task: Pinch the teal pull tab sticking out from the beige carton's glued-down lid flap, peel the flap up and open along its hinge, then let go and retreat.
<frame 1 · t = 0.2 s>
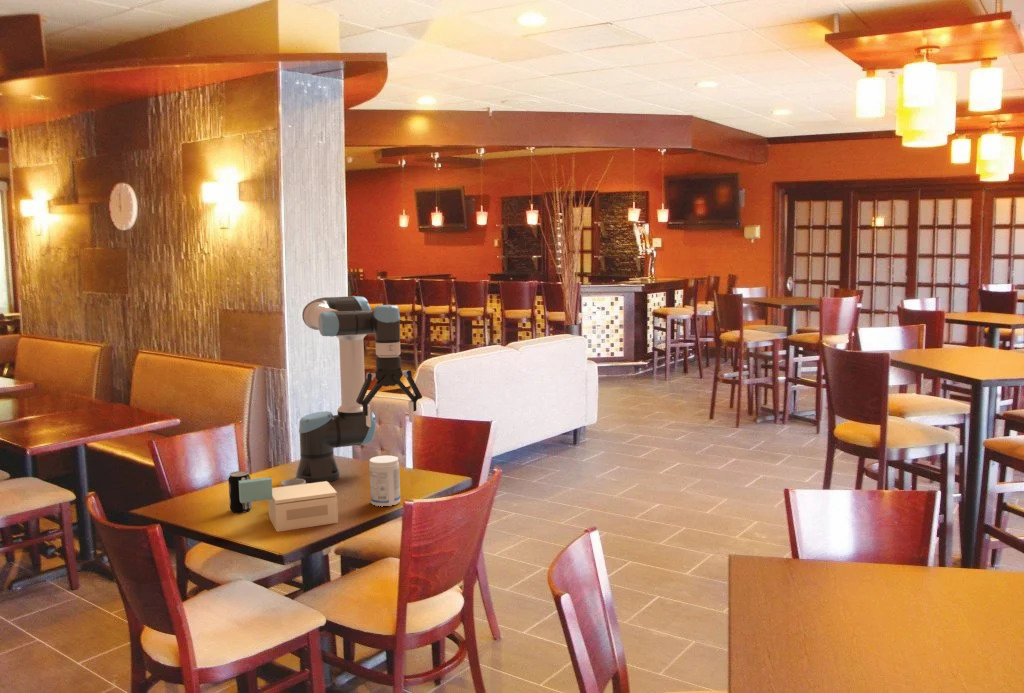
hand: (390, 424, 260), 28 cm above the table, fingers open, 13 cm apart
cup: (292, 509, 267), on the table
supplement tub: (385, 503, 272), on the table
carton: (303, 520, 256), on the table
beverage can: (241, 510, 267), on the table
flap: (287, 485, 253), point 11 cm above the table, hinge at 0.0°
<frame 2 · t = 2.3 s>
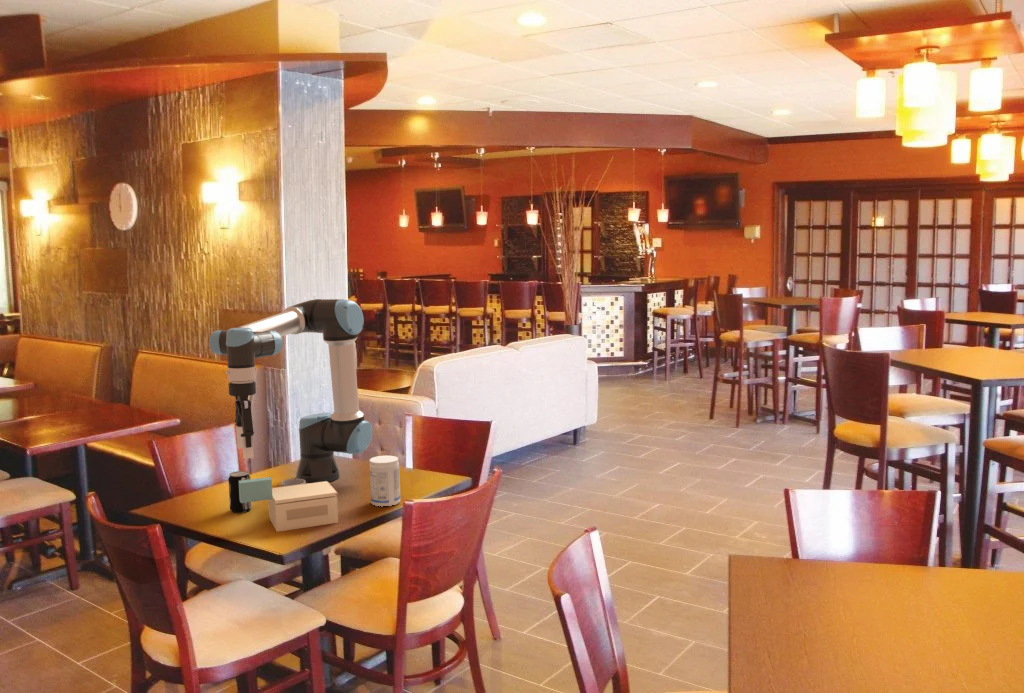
hand: (245, 453, 247), 23 cm above the table, fingers open, 13 cm apart
nothing on the table moved.
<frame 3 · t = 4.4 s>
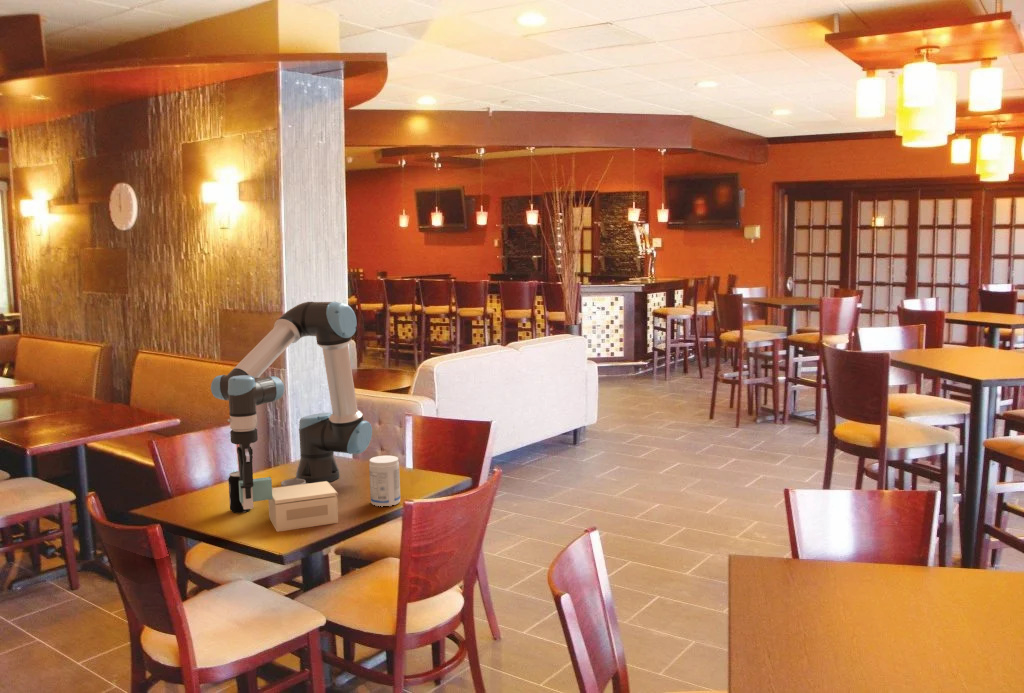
hand: (247, 506, 249), 7 cm above the table, fingers closed on flap, 3 cm apart
flap: (287, 485, 253), point 11 cm above the table, hinge at 0.0°, touching gripper
everything else where it was.
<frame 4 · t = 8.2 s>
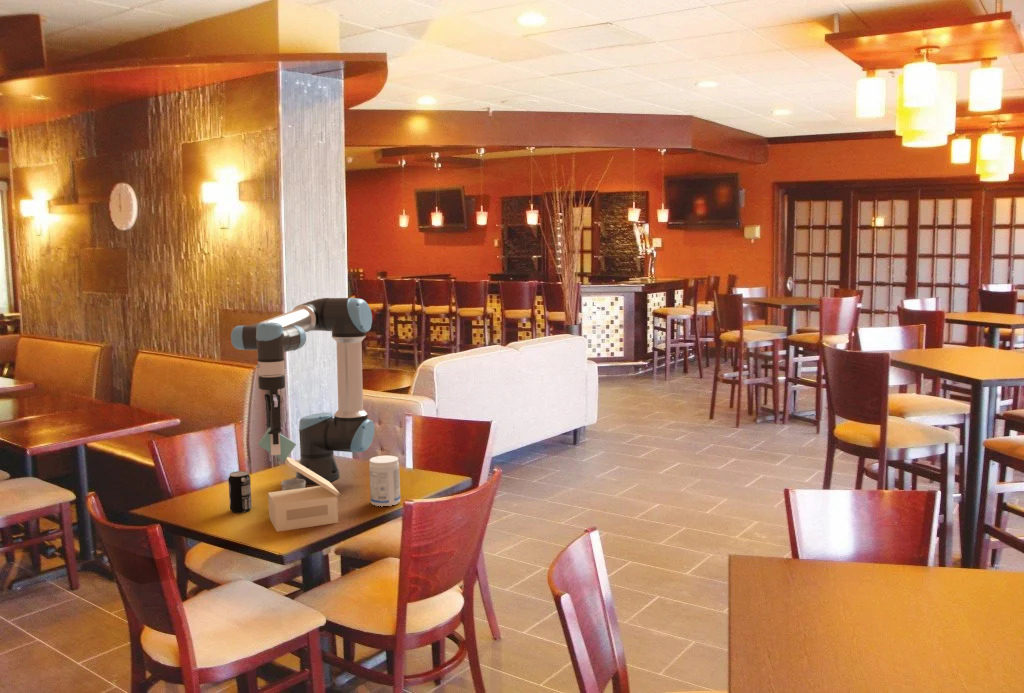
hand: (274, 453, 250), 22 cm above the table, fingers closed on flap, 3 cm apart
flap: (302, 459, 254), point 19 cm above the table, hinge at 37.8°, touching gripper
everything else where it was.
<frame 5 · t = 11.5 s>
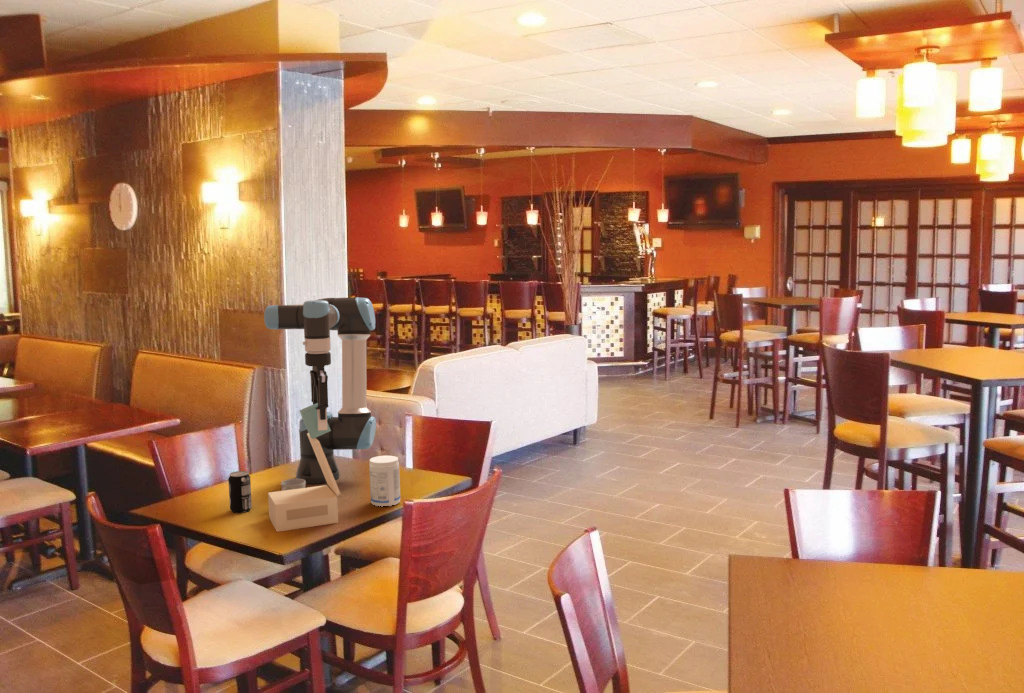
hand: (320, 428, 255), 28 cm above the table, fingers open, 5 cm apart
flap: (326, 447, 257), point 22 cm above the table, hinge at 71.0°
everything else where it was.
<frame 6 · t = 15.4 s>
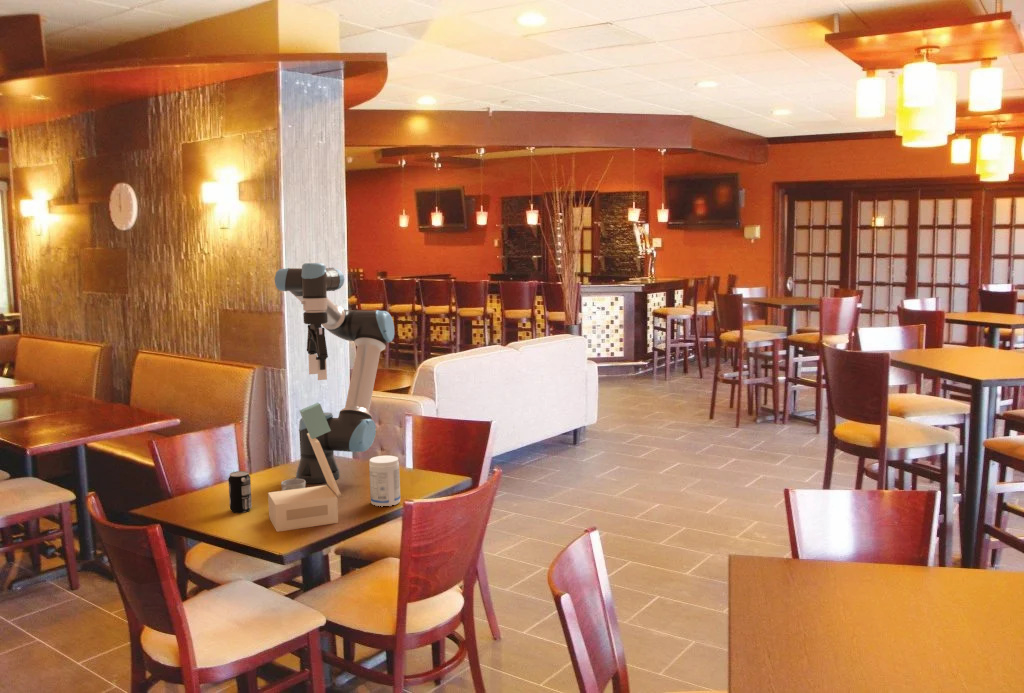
hand: (317, 376, 272), 41 cm above the table, fingers open, 13 cm apart
nothing on the table moved.
at the end: flap at +71° (first picture: +0°); the gripper is holding nothing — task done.
